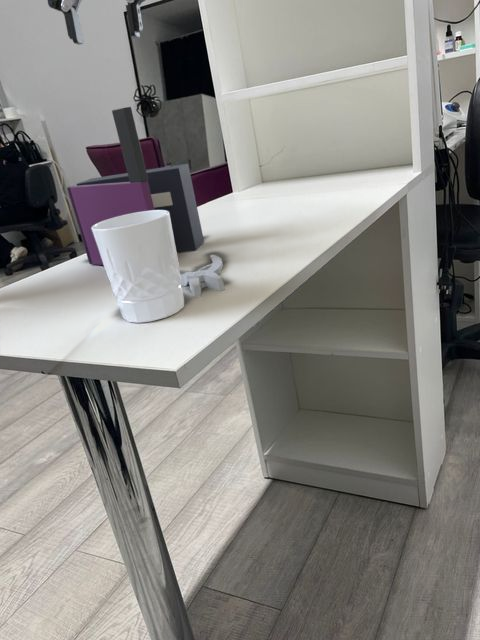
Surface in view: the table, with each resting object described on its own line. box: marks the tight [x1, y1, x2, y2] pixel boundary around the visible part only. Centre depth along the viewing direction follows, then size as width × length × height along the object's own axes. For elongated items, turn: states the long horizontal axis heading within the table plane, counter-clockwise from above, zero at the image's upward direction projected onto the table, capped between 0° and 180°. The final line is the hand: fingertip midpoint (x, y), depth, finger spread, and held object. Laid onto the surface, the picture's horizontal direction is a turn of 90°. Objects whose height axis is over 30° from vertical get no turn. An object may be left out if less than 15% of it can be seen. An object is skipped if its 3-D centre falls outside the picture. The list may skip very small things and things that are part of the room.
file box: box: [76, 163, 205, 254], centre depth 83 cm, size 16×5×12 cm, turn 81°
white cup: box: [91, 210, 185, 324], centre depth 56 cm, size 8×8×10 cm
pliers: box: [180, 254, 226, 298], centre depth 67 cm, size 10×2×15 cm
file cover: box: [66, 106, 155, 266], centre depth 75 cm, size 17×1×20 cm, turn 52°
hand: (107, 40), depth 77 cm, fingers open, 8 cm apart
